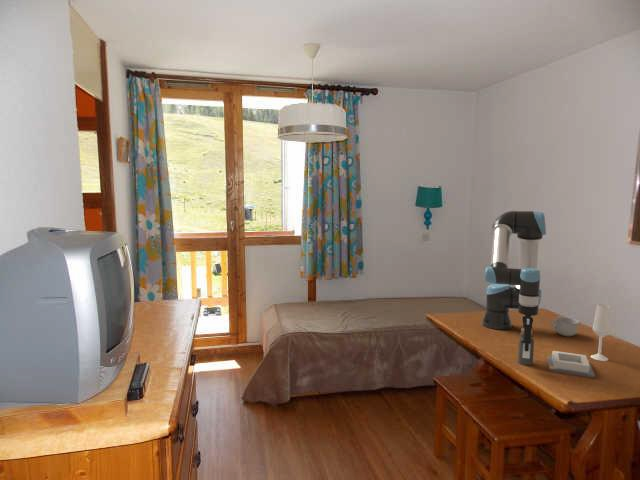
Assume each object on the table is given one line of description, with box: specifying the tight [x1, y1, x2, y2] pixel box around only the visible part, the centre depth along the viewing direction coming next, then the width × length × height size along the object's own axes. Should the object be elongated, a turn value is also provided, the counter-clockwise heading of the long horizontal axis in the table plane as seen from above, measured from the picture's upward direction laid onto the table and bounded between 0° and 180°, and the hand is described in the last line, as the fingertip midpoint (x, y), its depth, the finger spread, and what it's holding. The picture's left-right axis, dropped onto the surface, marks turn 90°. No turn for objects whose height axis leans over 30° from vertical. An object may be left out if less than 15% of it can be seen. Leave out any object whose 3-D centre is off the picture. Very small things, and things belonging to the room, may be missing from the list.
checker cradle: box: [546, 350, 596, 379], centre depth 179 cm, size 16×16×4 cm
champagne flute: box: [590, 303, 612, 362], centre depth 188 cm, size 7×7×24 cm
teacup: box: [549, 316, 580, 337], centre depth 220 cm, size 14×11×8 cm
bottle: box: [517, 327, 535, 366], centre depth 183 cm, size 6×6×15 cm
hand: (525, 352), depth 183 cm, fingers open, 13 cm apart
